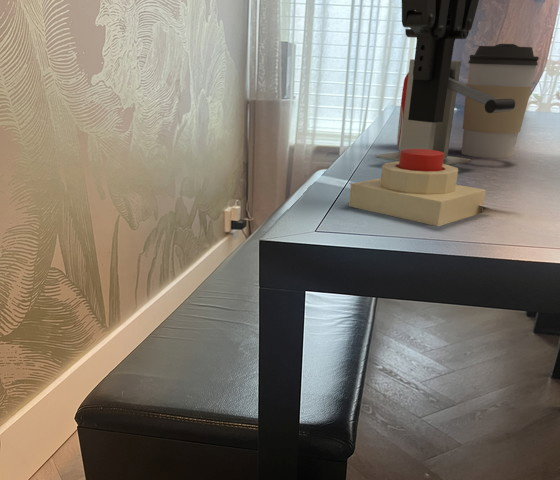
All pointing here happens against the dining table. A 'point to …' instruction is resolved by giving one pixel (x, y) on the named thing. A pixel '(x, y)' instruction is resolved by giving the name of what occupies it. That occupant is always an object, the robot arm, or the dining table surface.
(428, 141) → the bracket
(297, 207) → the dining table surface
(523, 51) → the coffee cup
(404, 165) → the button
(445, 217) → the button block
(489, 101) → the lever
